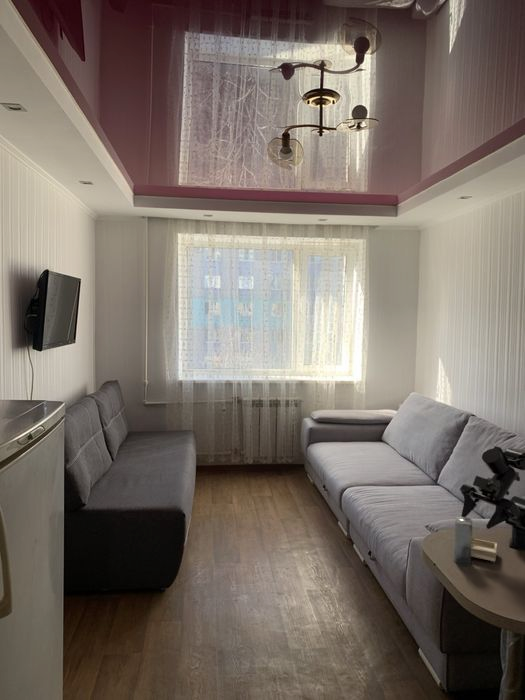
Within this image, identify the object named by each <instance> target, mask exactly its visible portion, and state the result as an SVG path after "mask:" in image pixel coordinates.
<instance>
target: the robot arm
mask: <svg viewBox="0 0 525 700" xmlns="http://www.w3.org/2000/svg"><path fill="white" fill-rule="evenodd" d="M481 459H482V461H483V462H484V464H485V465H486V466H487V467H486V468H488V469H489V471H490V472H491V473H492V474H493V475H492V476H491V477H488V478H485V477H483V476H479V475H475V477H474V479H473V483H472V485H469V484H462V485H461V486H460V488H459V491H460V492H461V495H462V496H463V498H464V499H463V506H462V510H461V511H462V512H461V516H460V517H467V516H468V515H470V514H471V512H472V511H473V510H474V509H475V508H476V507H477V503H479V502H480V501H482V502H484V503H487V504H490V505H492V506H495V508H494V509H495V510H494V512H493V514H492V516H491V517H490V518H489V520H488V521H487V523H486V525H485V526H486V527H485V528H486V529H488V530H490V529H491V528H493V527H495V526H497V525H500V524H502V523H503V522H504V523H505V524H506V525H509V526H511V529H510V531H511V533H510V538H509V543H508V546H509V548H515V549H519V550H525V494H524V495H523V496H522V497H519V496H516V495H514V496H512V498H510V499H509V498H508V499H507V498H505V496H509V494H510V491H509V489H510V488H511V486H512V485H513V483H514V482H515V481H516V482H520V481H521V478H520V473H519V472H517V471H516V470H520V471H525V449H520V448H507V449H505V450H504V451H503V449H502V447H500V446H497V445H495V446H494V447H493V448H490V449H487V450H485V451H483V453H482V455H481ZM515 469H516V470H515ZM475 487H477V488H478V491H479V492H481V493H479V492H478V491H477V489H476V488H475Z"/></svg>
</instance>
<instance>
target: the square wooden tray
mask: <svg viewBox="0 0 525 700" xmlns="http://www.w3.org/2000/svg"><path fill="white" fill-rule="evenodd" d="M497 552H498V542H493V541H488V540H484V539H479V538H475V537H474V538H473V537H472V542H471V558H477V559H482V560H486V561H490V563H491V564H495V562H496V558H497V554H498V553H497Z"/></svg>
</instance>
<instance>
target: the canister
mask: <svg viewBox="0 0 525 700" xmlns="http://www.w3.org/2000/svg"><path fill="white" fill-rule="evenodd" d="M454 522H455V524H454V543H453V562H454V563H455V564H458V565H461V566H469V565H471V560H472V556H471V542H472V538H473V534H472V530H473V519H471V518H469V517H467V516H466V517H462V516H456V517H455V519H454Z"/></svg>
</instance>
